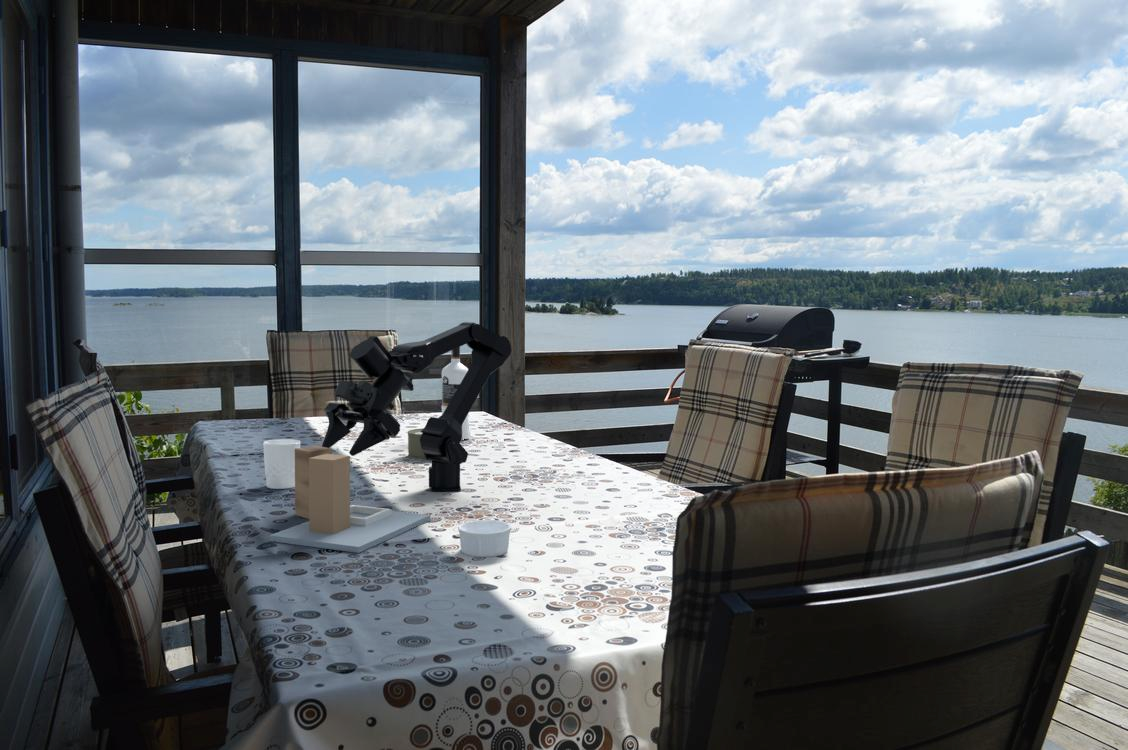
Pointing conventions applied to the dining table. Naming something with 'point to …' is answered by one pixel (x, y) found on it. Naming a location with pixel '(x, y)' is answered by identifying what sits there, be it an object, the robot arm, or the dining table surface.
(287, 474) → the white cup
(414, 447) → the can
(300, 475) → the walnut pillar
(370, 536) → the baseplate
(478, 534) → the ramekin
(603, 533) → the dining table surface
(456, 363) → the vodka
